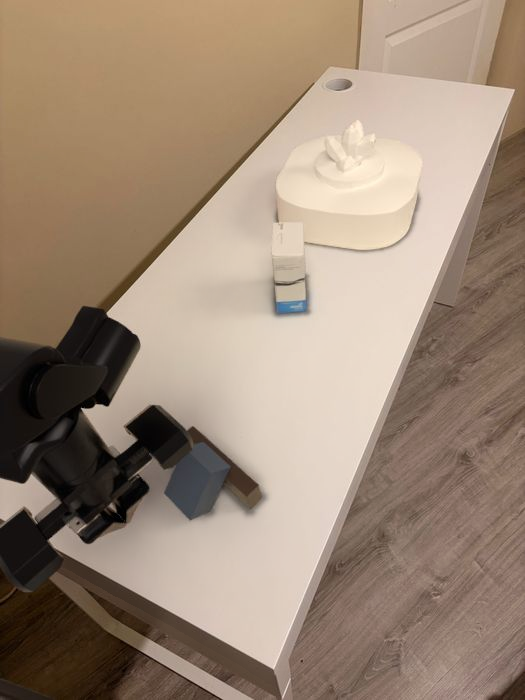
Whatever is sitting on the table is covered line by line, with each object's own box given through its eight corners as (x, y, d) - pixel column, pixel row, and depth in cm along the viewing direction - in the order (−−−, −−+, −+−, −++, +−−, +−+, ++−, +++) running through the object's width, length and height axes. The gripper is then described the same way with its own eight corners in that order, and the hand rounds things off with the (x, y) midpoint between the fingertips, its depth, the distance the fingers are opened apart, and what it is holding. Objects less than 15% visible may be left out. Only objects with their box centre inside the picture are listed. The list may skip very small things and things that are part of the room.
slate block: (193, 527, 59) (180, 502, 53) (167, 500, 62) (153, 473, 56) (236, 486, 62) (228, 457, 56) (210, 461, 65) (200, 432, 59)
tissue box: (303, 164, 107) (301, 87, 95) (422, 176, 100) (436, 95, 88) (266, 236, 93) (257, 156, 80) (401, 256, 86) (415, 172, 73)
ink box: (307, 312, 80) (305, 256, 70) (276, 314, 80) (270, 258, 71) (305, 276, 85) (303, 219, 76) (276, 278, 85) (271, 221, 76)
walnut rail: (250, 510, 60) (246, 496, 57) (187, 450, 66) (180, 435, 63) (261, 498, 61) (258, 484, 58) (198, 440, 67) (192, 425, 64)
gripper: (105, 335, 48) (149, 419, 60) (-85, 469, 40) (9, 534, 52) (178, 399, 42) (209, 478, 54) (-27, 568, 35) (63, 616, 47)
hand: (124, 521), depth 52 cm, fingers closed
